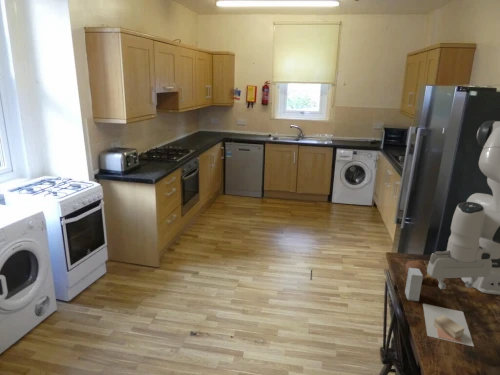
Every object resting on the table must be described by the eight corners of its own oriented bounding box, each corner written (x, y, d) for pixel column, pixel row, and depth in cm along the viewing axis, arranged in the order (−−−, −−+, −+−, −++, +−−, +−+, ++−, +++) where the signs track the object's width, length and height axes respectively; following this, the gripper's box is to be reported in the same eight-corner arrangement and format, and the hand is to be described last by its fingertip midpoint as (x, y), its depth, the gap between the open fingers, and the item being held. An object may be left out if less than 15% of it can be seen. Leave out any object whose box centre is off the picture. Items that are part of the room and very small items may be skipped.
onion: (417, 282, 162) (427, 262, 161) (423, 288, 152) (434, 267, 151) (397, 272, 163) (407, 253, 162) (402, 277, 154) (413, 257, 153)
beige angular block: (462, 335, 122) (464, 328, 121) (454, 339, 120) (455, 331, 119) (441, 321, 129) (443, 314, 128) (433, 325, 127) (434, 318, 126)
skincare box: (418, 302, 141) (423, 276, 138) (407, 301, 142) (411, 274, 139) (415, 294, 147) (419, 268, 144) (404, 292, 148) (408, 267, 144)
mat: (462, 313, 135) (463, 311, 135) (473, 348, 117) (474, 346, 117) (422, 304, 140) (422, 303, 140) (427, 337, 122) (427, 335, 122)
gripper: (437, 256, 113) (430, 293, 117) (498, 254, 114) (489, 291, 118) (426, 247, 119) (420, 283, 123) (484, 245, 120) (477, 281, 124)
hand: (455, 287), depth 121 cm, fingers open, 8 cm apart
